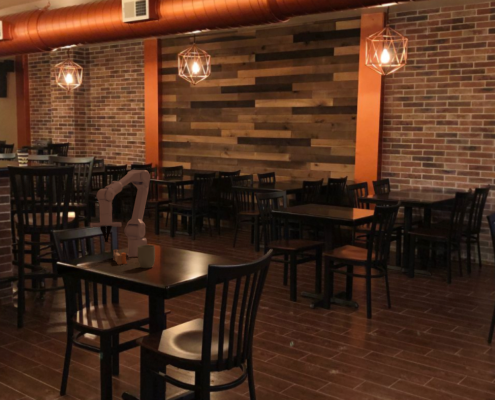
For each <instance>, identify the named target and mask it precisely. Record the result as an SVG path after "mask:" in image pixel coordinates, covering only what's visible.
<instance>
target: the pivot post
mask: <svg viewBox="0 0 495 400" xmlns="http://www.w3.org/2000/svg"><path fill="white" fill-rule="evenodd" d="M115 252H118V253H119V254H120V252H119V249H113V258H112V260H113V261H115Z"/></svg>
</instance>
